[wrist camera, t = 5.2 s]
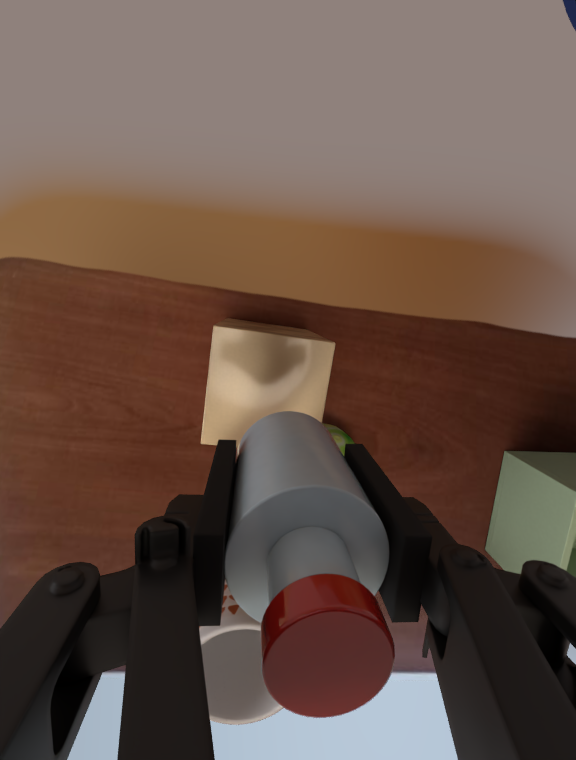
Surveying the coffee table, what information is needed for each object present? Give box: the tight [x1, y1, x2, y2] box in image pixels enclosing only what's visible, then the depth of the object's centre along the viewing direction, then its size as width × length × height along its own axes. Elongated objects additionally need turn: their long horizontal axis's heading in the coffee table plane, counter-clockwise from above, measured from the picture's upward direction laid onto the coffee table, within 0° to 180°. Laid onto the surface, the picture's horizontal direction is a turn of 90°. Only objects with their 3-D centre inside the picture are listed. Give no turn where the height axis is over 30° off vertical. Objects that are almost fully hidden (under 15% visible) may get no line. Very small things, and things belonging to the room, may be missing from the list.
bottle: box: [224, 411, 395, 718], centre depth 12 cm, size 5×5×10 cm
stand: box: [201, 318, 335, 447], centre depth 38 cm, size 10×10×16 cm
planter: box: [199, 579, 284, 725], centre depth 46 cm, size 14×14×13 cm
